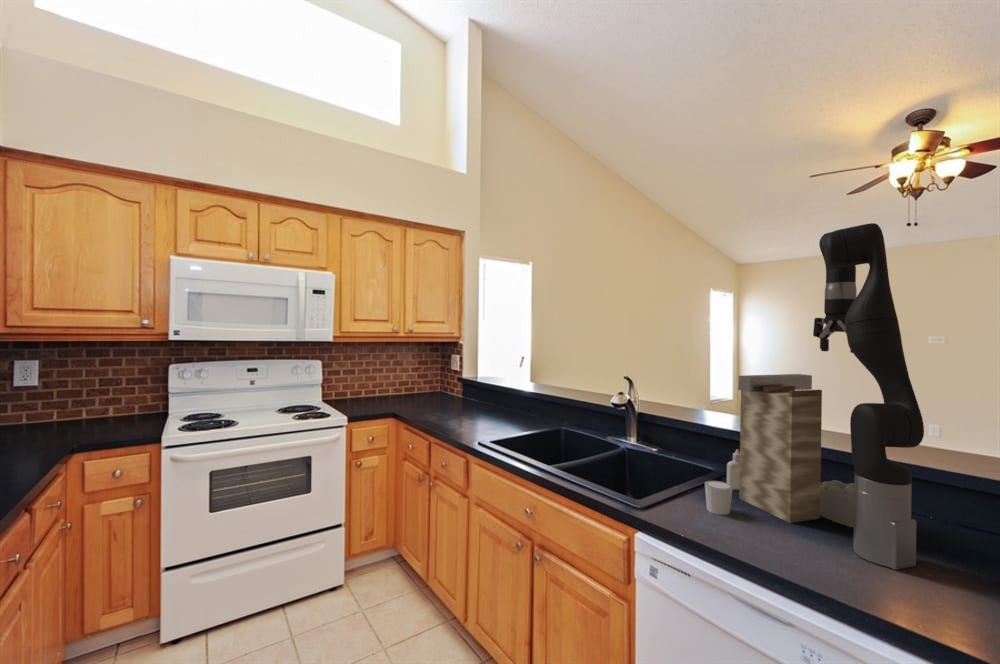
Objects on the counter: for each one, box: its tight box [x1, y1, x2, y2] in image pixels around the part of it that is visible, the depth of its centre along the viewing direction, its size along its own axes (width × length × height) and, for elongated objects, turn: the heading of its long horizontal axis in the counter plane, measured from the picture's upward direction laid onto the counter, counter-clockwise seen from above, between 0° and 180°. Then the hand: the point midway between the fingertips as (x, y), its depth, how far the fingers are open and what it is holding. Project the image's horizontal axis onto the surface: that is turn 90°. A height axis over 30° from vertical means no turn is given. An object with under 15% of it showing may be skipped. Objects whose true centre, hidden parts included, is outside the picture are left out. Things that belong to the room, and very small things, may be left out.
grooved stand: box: [738, 386, 823, 524], centre depth 118 cm, size 16×10×34 cm, turn 16°
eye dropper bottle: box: [726, 448, 740, 491], centre depth 133 cm, size 4×6×12 cm
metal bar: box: [737, 373, 813, 392], centre depth 123 cm, size 4×22×4 cm, turn 106°
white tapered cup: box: [704, 480, 734, 516], centre depth 117 cm, size 7×7×7 cm
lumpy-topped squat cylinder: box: [820, 479, 855, 529], centre depth 113 cm, size 10×13×9 cm
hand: (839, 352), depth 130 cm, fingers open, 8 cm apart
